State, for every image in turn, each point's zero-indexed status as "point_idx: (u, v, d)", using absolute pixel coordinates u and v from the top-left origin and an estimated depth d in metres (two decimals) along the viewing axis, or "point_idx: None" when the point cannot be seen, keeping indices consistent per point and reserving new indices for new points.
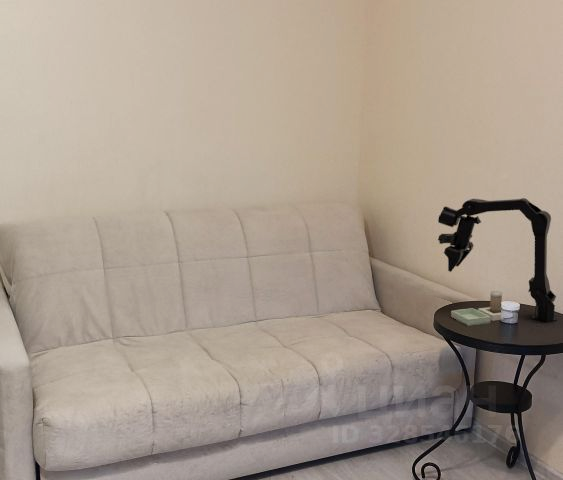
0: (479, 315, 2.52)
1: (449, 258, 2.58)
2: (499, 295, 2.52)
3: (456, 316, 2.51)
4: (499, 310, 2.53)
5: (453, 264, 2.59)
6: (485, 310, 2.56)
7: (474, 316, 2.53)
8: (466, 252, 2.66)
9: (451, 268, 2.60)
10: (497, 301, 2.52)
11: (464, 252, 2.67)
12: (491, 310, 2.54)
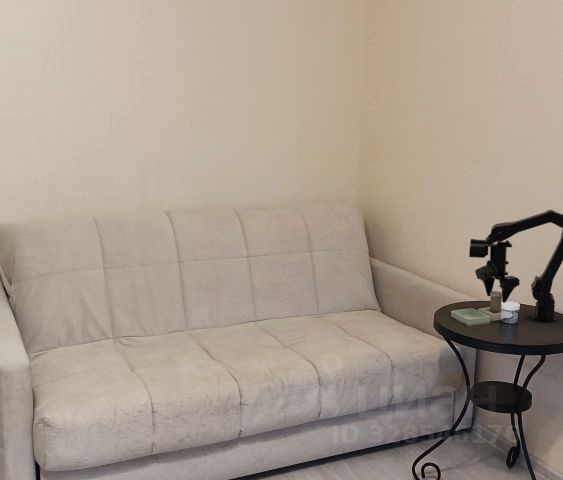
0: (479, 315, 2.52)
1: (505, 289, 2.47)
2: (499, 295, 2.52)
3: (456, 316, 2.51)
4: (499, 310, 2.53)
5: (508, 294, 2.48)
6: (485, 310, 2.56)
7: (474, 316, 2.53)
8: (493, 278, 2.58)
9: (506, 298, 2.49)
10: (497, 301, 2.52)
11: (491, 279, 2.58)
12: (491, 310, 2.54)
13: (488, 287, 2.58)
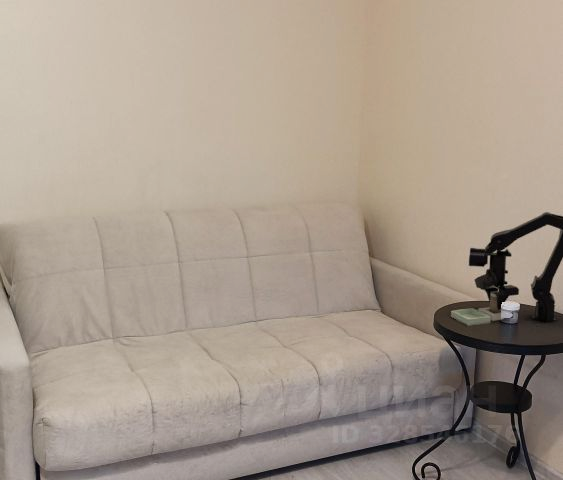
0: (479, 315, 2.52)
1: (500, 297, 2.50)
2: None
3: (456, 316, 2.51)
4: (499, 310, 2.53)
5: (503, 301, 2.51)
6: (485, 310, 2.56)
7: (474, 316, 2.53)
8: (496, 288, 2.57)
9: None
10: None
11: (494, 289, 2.57)
12: (491, 310, 2.54)
13: None
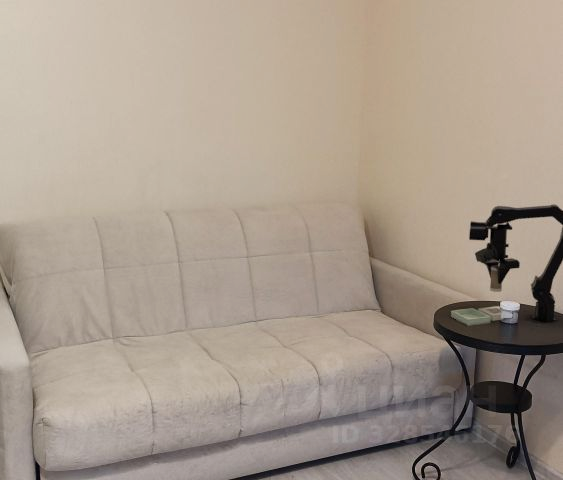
0: (479, 315, 2.52)
1: (501, 270, 2.48)
2: None
3: (456, 316, 2.51)
4: (500, 284, 2.51)
5: (504, 275, 2.49)
6: (485, 310, 2.56)
7: (474, 316, 2.53)
8: (497, 263, 2.55)
9: (502, 279, 2.50)
10: (497, 275, 2.50)
11: (495, 264, 2.54)
12: (492, 284, 2.52)
13: None
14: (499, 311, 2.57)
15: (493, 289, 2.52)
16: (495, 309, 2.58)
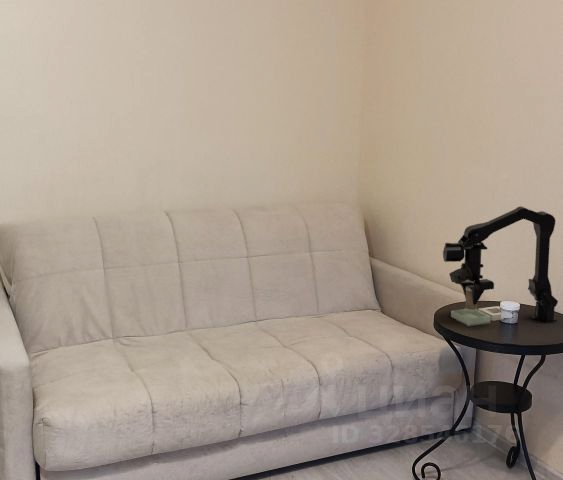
0: (479, 315, 2.52)
1: (475, 291, 2.45)
2: None
3: (456, 316, 2.51)
4: (475, 305, 2.48)
5: (479, 295, 2.46)
6: (485, 310, 2.56)
7: (474, 316, 2.53)
8: (472, 283, 2.51)
9: (477, 300, 2.47)
10: None
11: (470, 284, 2.51)
12: (466, 305, 2.49)
13: None
14: (499, 311, 2.57)
15: (468, 310, 2.49)
16: (495, 309, 2.58)
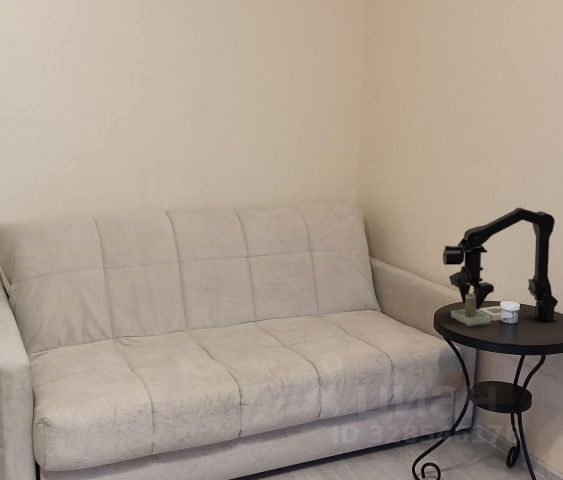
0: (479, 315, 2.52)
1: (478, 296, 2.43)
2: (474, 297, 2.47)
3: (456, 316, 2.51)
4: (474, 313, 2.49)
5: (482, 300, 2.45)
6: (485, 310, 2.56)
7: None
8: (468, 285, 2.54)
9: (480, 305, 2.45)
10: (472, 303, 2.48)
11: (467, 285, 2.53)
12: (466, 313, 2.50)
13: (463, 293, 2.53)
14: (499, 311, 2.57)
15: None
16: (495, 309, 2.58)
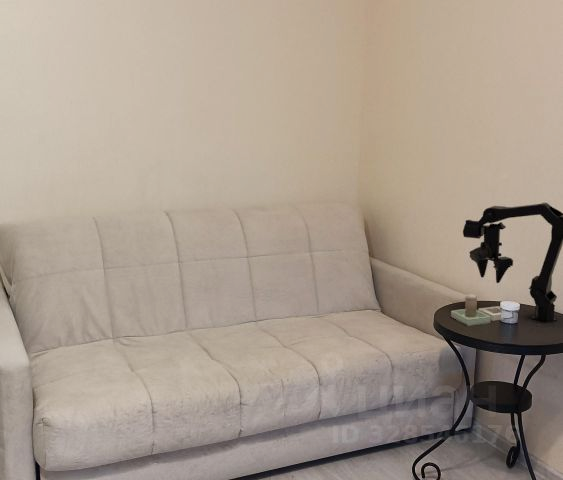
0: (479, 315, 2.52)
1: (499, 270, 2.53)
2: (474, 297, 2.47)
3: (456, 316, 2.51)
4: (474, 313, 2.49)
5: (502, 274, 2.55)
6: (485, 310, 2.56)
7: None
8: (486, 260, 2.64)
9: (500, 279, 2.55)
10: (472, 303, 2.48)
11: (485, 261, 2.64)
12: (466, 313, 2.50)
13: (481, 268, 2.64)
14: (499, 311, 2.57)
15: None
16: (495, 309, 2.58)
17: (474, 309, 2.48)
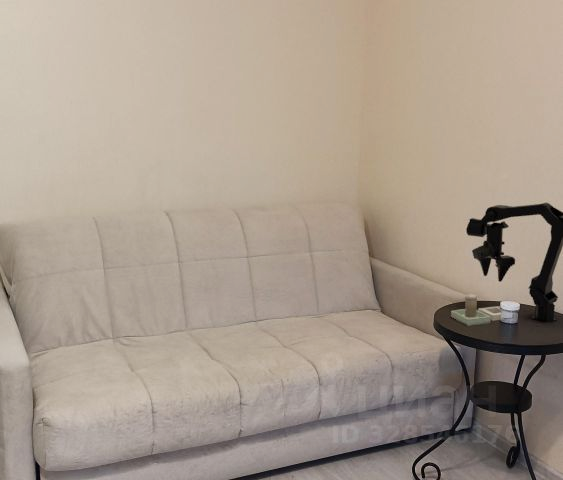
0: (479, 315, 2.52)
1: (501, 269, 2.55)
2: (474, 297, 2.47)
3: (456, 316, 2.51)
4: (474, 313, 2.49)
5: (504, 273, 2.56)
6: (485, 310, 2.56)
7: None
8: (489, 258, 2.66)
9: (502, 277, 2.57)
10: (472, 303, 2.48)
11: (488, 259, 2.66)
12: (466, 313, 2.50)
13: (484, 267, 2.66)
14: (499, 311, 2.57)
15: None
16: (495, 309, 2.58)
17: (474, 309, 2.48)
